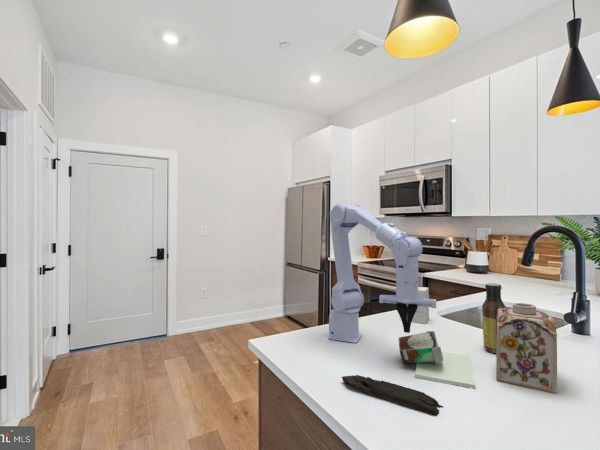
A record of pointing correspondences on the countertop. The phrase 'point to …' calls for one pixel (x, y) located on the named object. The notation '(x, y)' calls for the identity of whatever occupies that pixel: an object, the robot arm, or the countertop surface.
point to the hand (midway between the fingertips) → (407, 331)
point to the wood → (395, 393)
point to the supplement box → (422, 312)
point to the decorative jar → (526, 347)
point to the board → (448, 370)
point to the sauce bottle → (491, 315)
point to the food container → (420, 348)
